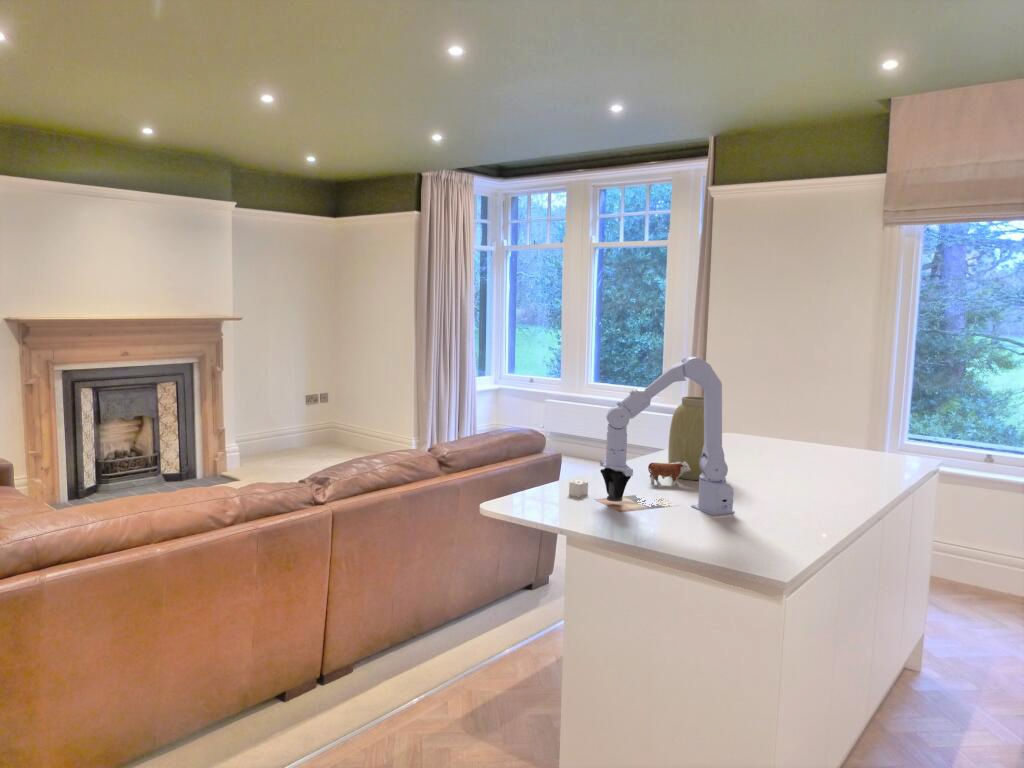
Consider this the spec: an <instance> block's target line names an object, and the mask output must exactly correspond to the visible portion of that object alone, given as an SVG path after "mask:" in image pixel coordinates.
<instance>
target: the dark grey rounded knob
mask: <svg viewBox="0 0 1024 768" xmlns="http://www.w3.org/2000/svg"><path fill="white" fill-rule="evenodd" d="M622 497H623V496H622ZM622 497H620V498H616V497H615V494H614V483H613V481H610V482H609V494H607V496H606V498H607V500H609V501H614V502H619V501H622Z"/></svg>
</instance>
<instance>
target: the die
mask: <svg viewBox="0 0 1024 768" xmlns="http://www.w3.org/2000/svg"><path fill="white" fill-rule="evenodd" d="M568 483H569V484H568V485H569V486H568V495H569V496H572V495H573V497H576V496H577V498H581V497H583V496H586V495H588V493H589V482H588V481H584V480H579V479H577V480H571V481H569V482H568Z"/></svg>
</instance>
